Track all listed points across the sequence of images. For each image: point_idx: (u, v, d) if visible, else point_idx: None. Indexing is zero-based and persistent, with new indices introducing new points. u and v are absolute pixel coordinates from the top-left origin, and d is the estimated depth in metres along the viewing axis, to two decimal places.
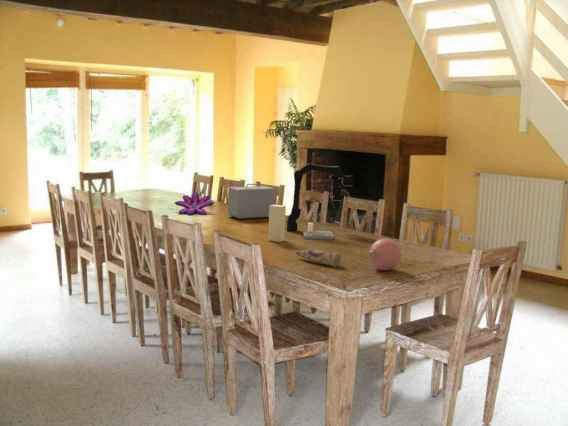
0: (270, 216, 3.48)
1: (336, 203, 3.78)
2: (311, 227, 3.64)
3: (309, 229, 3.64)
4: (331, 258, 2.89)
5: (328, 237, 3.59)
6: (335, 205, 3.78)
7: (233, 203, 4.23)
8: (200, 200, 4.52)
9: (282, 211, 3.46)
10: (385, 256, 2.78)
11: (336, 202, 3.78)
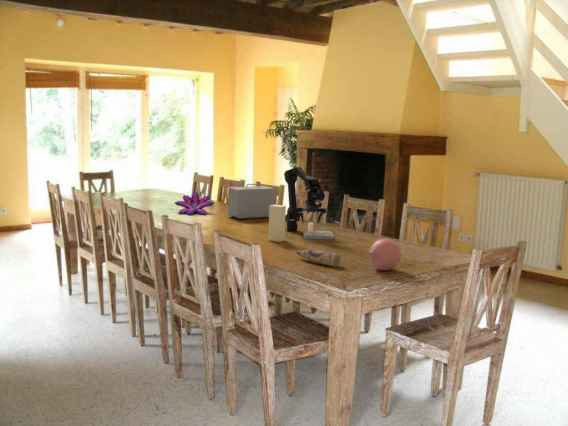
0: (270, 216, 3.48)
1: (301, 215, 3.65)
2: (311, 227, 3.64)
3: (309, 229, 3.64)
4: (331, 258, 2.88)
5: (328, 237, 3.59)
6: (301, 217, 3.66)
7: (233, 203, 4.23)
8: (200, 200, 4.51)
9: (282, 211, 3.46)
10: (385, 256, 2.78)
11: None
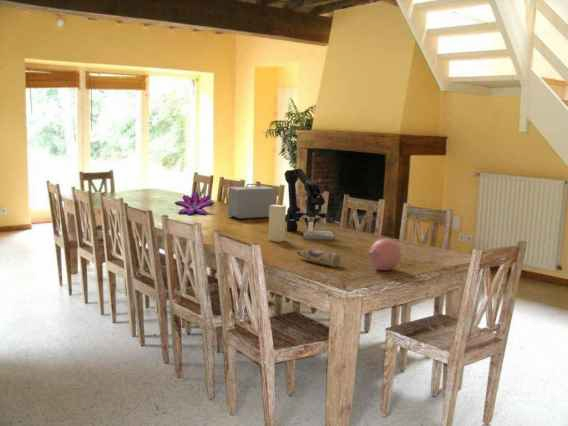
0: (270, 216, 3.48)
1: None
2: (311, 227, 3.64)
3: (309, 229, 3.64)
4: (330, 258, 2.88)
5: (328, 237, 3.59)
6: None
7: (233, 203, 4.23)
8: (200, 200, 4.51)
9: (282, 211, 3.46)
10: (385, 256, 2.78)
11: None
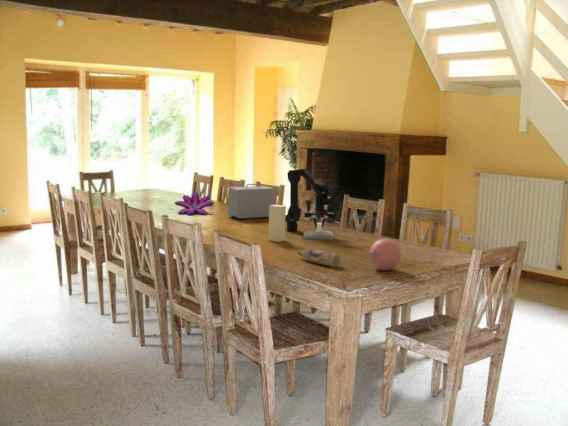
0: (270, 216, 3.48)
1: None
2: (320, 227, 3.64)
3: (318, 229, 3.64)
4: (329, 258, 2.88)
5: (328, 237, 3.59)
6: (314, 222, 3.67)
7: (233, 203, 4.23)
8: (200, 200, 4.51)
9: (282, 211, 3.46)
10: (385, 256, 2.78)
11: None
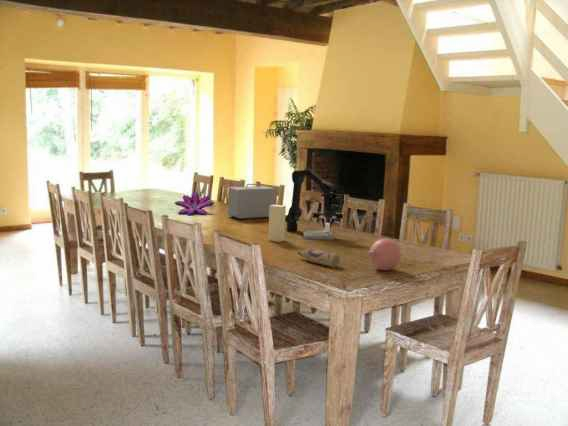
0: (270, 216, 3.48)
1: None
2: (328, 227, 3.64)
3: (326, 229, 3.64)
4: (329, 258, 2.88)
5: (328, 237, 3.59)
6: None
7: (233, 203, 4.23)
8: (200, 200, 4.51)
9: (282, 211, 3.46)
10: (385, 256, 2.78)
11: None
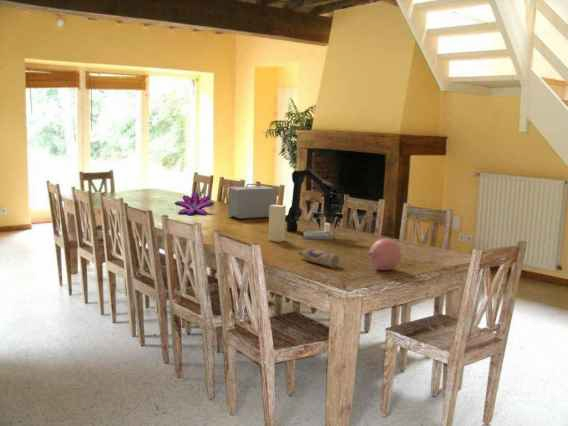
0: (270, 216, 3.48)
1: (318, 221, 3.66)
2: (328, 227, 3.64)
3: (326, 229, 3.64)
4: (328, 259, 2.87)
5: (328, 237, 3.59)
6: (318, 222, 3.67)
7: (233, 203, 4.23)
8: (200, 200, 4.50)
9: (282, 211, 3.46)
10: (385, 256, 2.78)
11: None
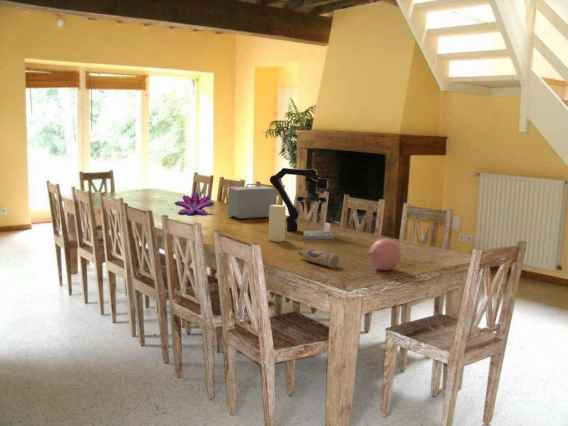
0: (270, 216, 3.48)
1: None
2: (328, 227, 3.64)
3: (326, 229, 3.64)
4: (328, 259, 2.87)
5: (328, 237, 3.59)
6: (302, 206, 3.81)
7: (233, 203, 4.23)
8: (200, 200, 4.50)
9: (282, 211, 3.46)
10: (385, 256, 2.78)
11: None
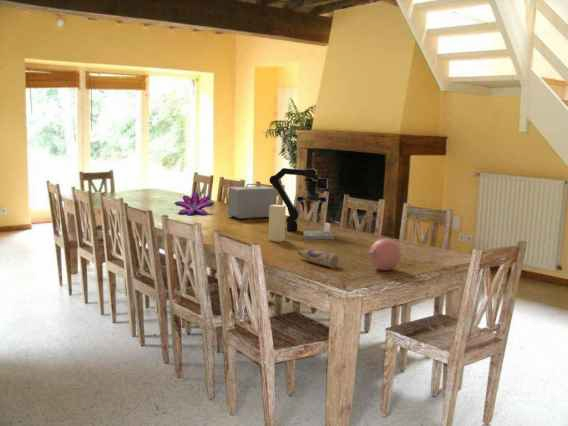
0: (270, 216, 3.48)
1: None
2: (328, 227, 3.64)
3: (326, 229, 3.64)
4: (328, 259, 2.87)
5: (328, 237, 3.59)
6: (302, 206, 3.81)
7: (233, 203, 4.23)
8: (200, 200, 4.50)
9: (282, 211, 3.46)
10: (385, 256, 2.78)
11: None
